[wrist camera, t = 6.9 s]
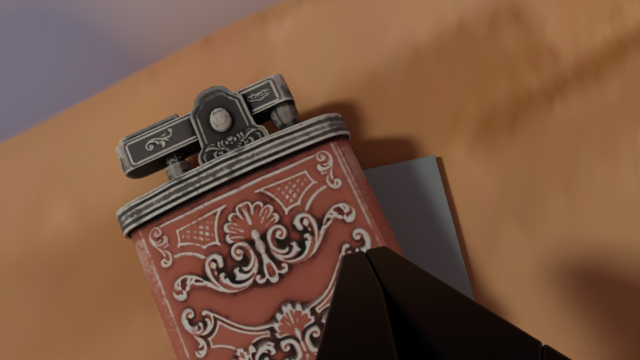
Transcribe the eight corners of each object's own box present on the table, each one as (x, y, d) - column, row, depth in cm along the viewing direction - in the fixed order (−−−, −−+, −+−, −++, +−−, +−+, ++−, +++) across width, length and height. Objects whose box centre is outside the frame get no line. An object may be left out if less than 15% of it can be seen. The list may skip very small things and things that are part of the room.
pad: (475, 314, 16) (478, 315, 15) (200, 378, 15) (198, 380, 15) (432, 156, 17) (434, 154, 16) (174, 210, 16) (172, 209, 16)
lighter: (433, 319, 15) (313, 74, 17) (461, 337, 12) (307, 29, 13) (221, 421, 15) (121, 161, 16) (187, 470, 11) (65, 137, 13)
